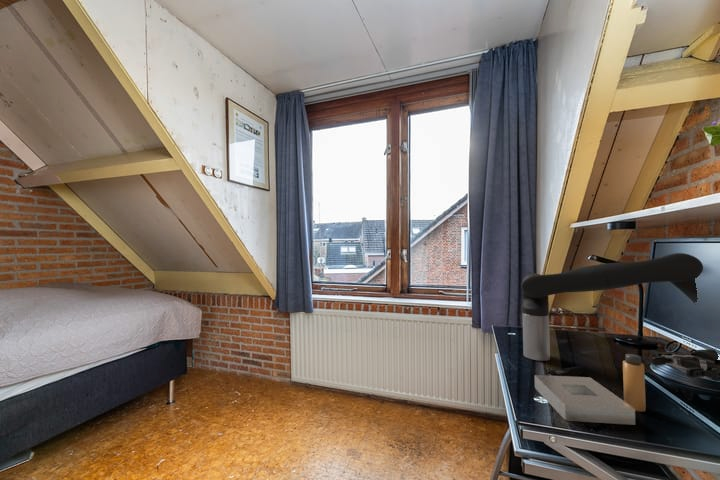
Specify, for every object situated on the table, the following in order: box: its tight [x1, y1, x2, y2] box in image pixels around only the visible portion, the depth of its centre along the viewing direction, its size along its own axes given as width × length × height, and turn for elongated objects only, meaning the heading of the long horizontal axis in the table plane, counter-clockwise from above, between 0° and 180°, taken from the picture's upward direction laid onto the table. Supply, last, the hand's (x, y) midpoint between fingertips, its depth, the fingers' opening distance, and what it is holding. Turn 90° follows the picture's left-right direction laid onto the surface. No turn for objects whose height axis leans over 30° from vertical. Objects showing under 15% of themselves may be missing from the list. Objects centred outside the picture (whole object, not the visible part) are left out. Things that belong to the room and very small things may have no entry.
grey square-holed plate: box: [534, 374, 636, 426], centre depth 85 cm, size 18×16×4 cm
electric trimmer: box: [545, 365, 584, 377], centre depth 102 cm, size 4×16×3 cm, turn 109°
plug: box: [622, 353, 647, 412], centre depth 83 cm, size 4×4×14 cm
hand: (669, 366), depth 84 cm, fingers open, 8 cm apart
